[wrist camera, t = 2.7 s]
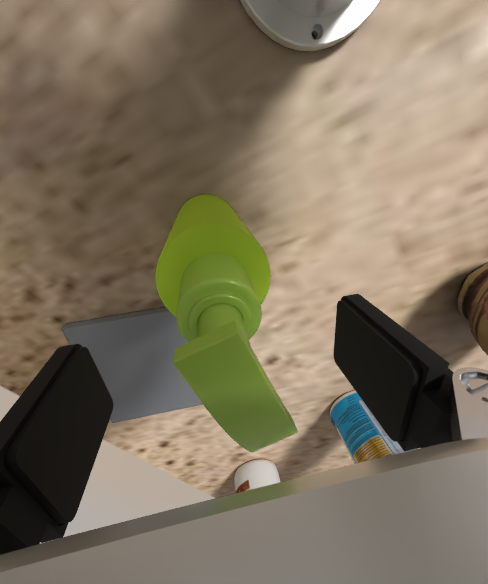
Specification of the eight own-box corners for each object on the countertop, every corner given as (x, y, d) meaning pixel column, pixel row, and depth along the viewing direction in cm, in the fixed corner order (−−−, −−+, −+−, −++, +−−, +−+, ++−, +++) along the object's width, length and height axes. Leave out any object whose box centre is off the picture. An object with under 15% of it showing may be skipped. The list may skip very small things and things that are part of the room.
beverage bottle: (380, 382, 39) (528, 560, 22) (372, 417, 43) (492, 592, 25) (329, 392, 38) (439, 586, 21) (325, 427, 42) (416, 616, 25)
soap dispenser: (200, 273, 26) (203, 489, 9) (164, 211, 23) (54, 360, 6) (250, 248, 26) (357, 422, 9) (221, 182, 23) (295, 243, 5)
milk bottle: (258, 451, 42) (300, 656, 25) (284, 467, 46) (338, 657, 28) (224, 474, 44) (241, 683, 26) (252, 487, 47) (284, 681, 29)
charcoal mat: (66, 323, 27) (61, 329, 26) (207, 300, 28) (207, 304, 27) (114, 416, 34) (112, 423, 33) (225, 393, 35) (226, 399, 34)
